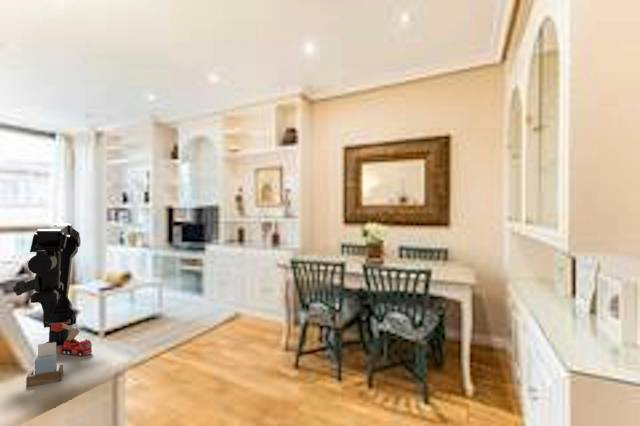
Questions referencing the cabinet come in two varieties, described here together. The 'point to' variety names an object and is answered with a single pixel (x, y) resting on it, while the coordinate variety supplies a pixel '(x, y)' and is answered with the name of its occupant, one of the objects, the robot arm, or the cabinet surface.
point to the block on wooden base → (46, 358)
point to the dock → (43, 377)
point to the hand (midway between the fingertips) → (47, 318)
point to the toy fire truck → (72, 341)
